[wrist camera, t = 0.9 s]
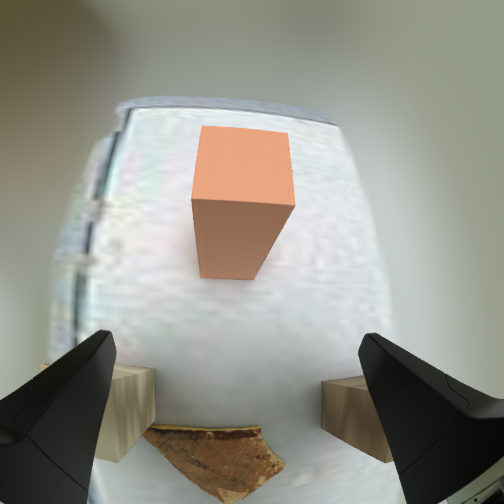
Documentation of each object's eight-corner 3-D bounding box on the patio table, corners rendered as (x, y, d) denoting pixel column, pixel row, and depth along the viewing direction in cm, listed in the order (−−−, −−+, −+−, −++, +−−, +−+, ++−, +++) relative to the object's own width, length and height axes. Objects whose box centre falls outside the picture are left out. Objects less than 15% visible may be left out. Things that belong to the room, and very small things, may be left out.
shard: (137, 420, 18) (131, 425, 16) (202, 368, 20) (201, 370, 19) (226, 500, 16) (227, 510, 14) (290, 452, 19) (296, 459, 17)
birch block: (155, 419, 18) (117, 462, 9) (106, 411, 17) (44, 440, 8) (154, 368, 19) (112, 380, 10) (105, 361, 19) (38, 363, 10)
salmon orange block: (253, 279, 23) (295, 205, 12) (200, 277, 23) (191, 198, 11) (253, 232, 25) (287, 133, 13) (203, 229, 24) (201, 125, 13)
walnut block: (364, 419, 20) (438, 440, 11) (321, 427, 19) (385, 463, 10) (365, 375, 21) (443, 377, 12) (321, 381, 21) (390, 393, 12)
